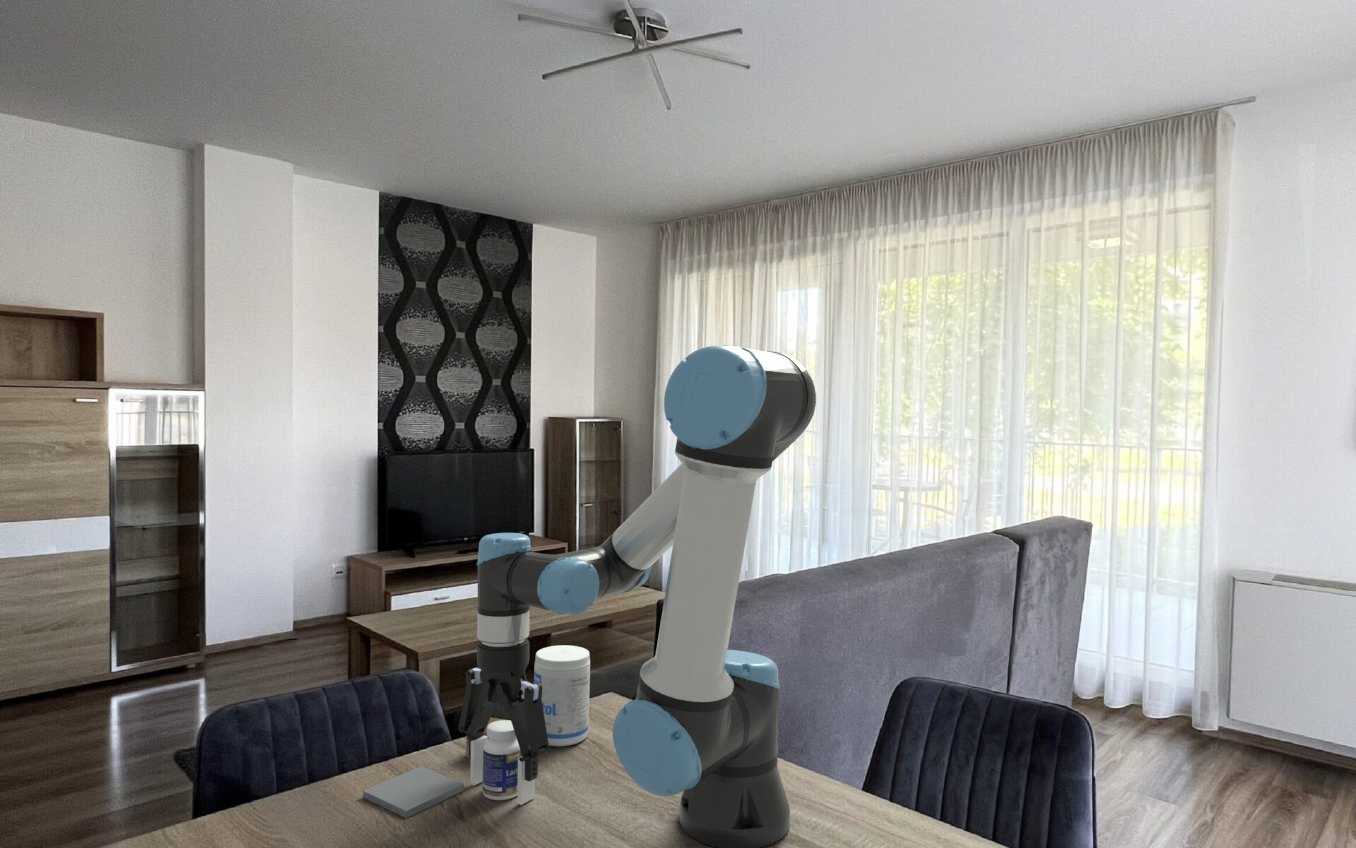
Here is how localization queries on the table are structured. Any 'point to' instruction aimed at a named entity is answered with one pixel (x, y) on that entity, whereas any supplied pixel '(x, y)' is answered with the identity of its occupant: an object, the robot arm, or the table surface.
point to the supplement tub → (564, 692)
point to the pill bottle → (500, 761)
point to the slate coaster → (413, 791)
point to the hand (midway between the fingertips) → (502, 791)
